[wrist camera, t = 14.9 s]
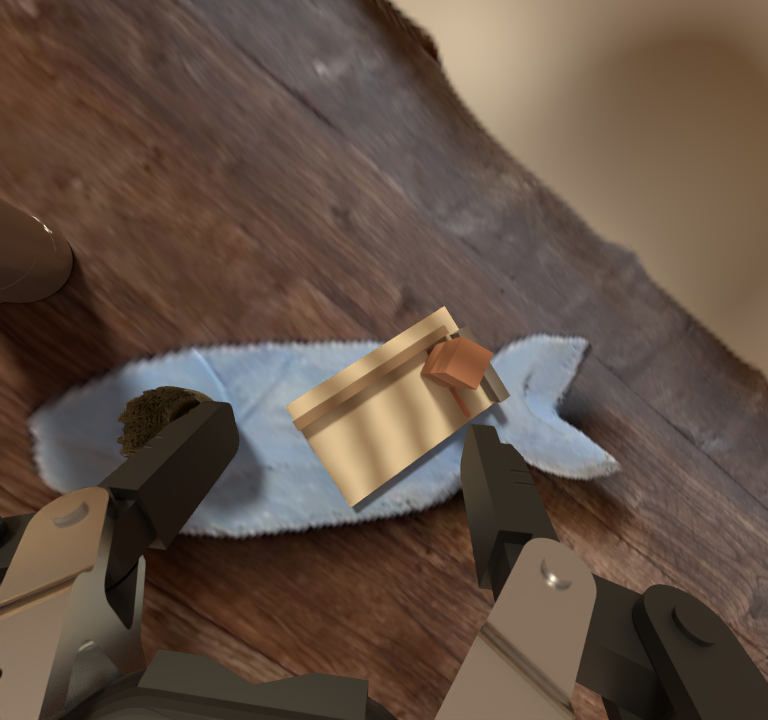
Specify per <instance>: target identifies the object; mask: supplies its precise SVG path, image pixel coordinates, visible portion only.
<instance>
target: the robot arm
mask: <svg viewBox="0 0 768 720" xmlns="http://www.w3.org/2000/svg"><path fill="white" fill-rule="evenodd" d="M72 265H73V257H72V252H71V248H70V246H69V244H68V243H67V241H66V239H65V238H64V237H63V236H62V235H61V233H59V232H58V231H57V230H56V229H54V228H53V227H51V226H49V225H48V224H46V223H44V222H42V221H41V220H39V219H38V218H36V217H34V216H32V215H29V214H28V213H26V212H24V211H22V210H20V209H18V208H17V207H15V206H13V205H11V204H10V203H8V202H6V201H4V200H2V199H1V198H0V303H3V302H15V303H28V302H34V301H38V300H42V299H44V298H46V297H49V296H51V295H52V294H54V293H55V292H56V291H58V290H59V289H60V288H61V287H62V286H63V285H64V284H65V283H66V281H67V279H68V277H69V276H70V273H71V269H72ZM238 446H239V435H238V431H237V426H236V422H235V418H234V414H233V409H232V406H231V405H230V404H229V403H227V402H216V401H203V402H201V403H200V404H199V405H198V406H197V407H196V408H195V409H194V410H192V411H191V412H190V413H189V414H186V415H184V416H182V417H180V418H178V419H176V420H175V421H173V422H171V423H169V424H168V425H167V426H166V427H164V428H163V429H162V430H161V431H160V432H159V433H158V434H156V437H155V438H152V439H151V440H150V441H148V442H147V443H146V444H145V446H144V448H140V449H139V450H138V451H137V452H136V453H135V454H134V455H132V456H131V457H130V458H129V459H128V460H127V461H126V462H124V463H123V464H122V465H121V466H120V467H119V468H118V469H116V470H115V471H114V472H113V473H112V474H111V475H109V476H108V477H107V478H106V479H105V480H104V481H103V482H101V483H100V484H99V485H98V486H97V487H86V488H82V489H78V490H75V491H72V492H69V493H67V494H65V495H63V496H61V497H59V498H57V499H55V500H54V501H52V502H50V503H49V504H47V505H46V506H45V507H43V508H42V509H41V510H40V511H39V512H37V513H30V514H24V515H18V516H12V517H6V518H1V516H0V720H397V719H396V718H395V717H394V716H393V715H392V714H391V713H390V712H389V711H388V710H387V709H385V708H384V707H383V706H382V705H381V704H379V703H378V702H376V701H374V700H373V699H371V698H369V697H368V680H361V679H355V678H348V677H342V676H335V675H328V674H322V673H310V674H305V675H301V676H296V677H291V678H286V679H281V680H277V681H272V682H267V683H262V684H252V683H250V682H248V681H246V680H245V679H243V678H242V677H240V676H238V675H237V674H235V673H234V672H232V671H231V670H229V669H227V668H226V667H224V666H223V665H221V664H219V663H218V662H216V661H215V660H213V659H212V658H210V657H208V656H202V655H196V654H189V653H182V652H176V651H169V650H162V649H158V651H157V652H156V654H155V656H154V657H153V659H152V661H151V663H150V664H149V666H148V668H146V664H145V657H144V652H143V649H142V644H141V619H142V605H143V591H144V578H145V559H144V557H143V553H144V552H145V551H146V549H147V548H155V549H163V550H166V549H167V548H168V546H169V545H170V544H171V542H172V541H173V540H174V538H175V537H176V536H177V534H178V533H179V531H180V530H181V529H182V527H183V526H184V525H185V523H186V522H187V520H188V519H189V518H190V516H191V515H192V514H193V512H194V511H195V510H196V508H197V507H198V505H199V504H200V503H201V501H202V500H203V499H204V497H205V496H206V494H207V493H208V492H209V490H210V489H211V488H212V486H213V485H214V484H215V482H216V481H217V479H218V478H219V477H220V475H221V474H222V473H223V471H224V470H225V468H226V467H227V466H228V464H229V463H230V462H231V460H232V459H233V458H234V456H235V454H236V452H237V450H238ZM460 470H461V482H462V488H463V494H464V500H465V506H466V512H467V518H468V524H469V530H470V536H471V542H472V548H473V554H474V560H475V566H476V572H477V578H478V584H479V588H482V589H490V590H492V591H493V596H494V601H495V605H494V607H493V609H492V611H491V613H490V615H489V617H488V619H487V621H486V623H485V624H484V626H482V628H481V630H480V631H479V633H478V635H477V637H476V639H475V641H474V643H473V645H472V647H471V649H470V651H469V653H468V655H467V657H466V658H465V660H464V662H463V664H462V666H461V668H460V670H459V672H458V674H457V676H456V678H455V680H454V682H453V684H452V686H451V688H450V690H449V692H448V694H447V696H446V698H445V700H444V702H443V704H442V706H441V708H440V710H439V712H438V713H437V715H436V717H435V719H434V720H574V709H573V708H572V707H571V699H572V693H573V689H574V685H575V682H577V683H579V684H581V685H583V686H585V687H586V688H588V689H590V690H592V691H594V692H595V693H597V694H599V695H601V697H602V700H603V703H604V706H605V709H606V712H607V715H608V718H609V720H768V682H767V681H766V680H765V678H764V677H763V675H762V674H761V672H760V671H759V670H758V668H757V667H756V665H755V664H754V662H753V661H752V660H751V658H750V657H749V655H748V654H747V652H746V651H745V650H744V648H743V647H742V645H741V644H740V642H739V641H738V640H737V638H736V637H735V635H734V634H733V633H732V631H731V630H730V629H729V627H728V626H727V625H726V624H725V623H724V622H723V621H722V620H721V619H720V618H719V617H718V616H717V615H716V614H715V613H714V612H713V611H712V610H711V609H710V608H708V607H707V606H706V605H705V604H703V603H702V602H701V601H699V600H698V599H696V598H695V597H693V596H692V595H690V594H688V593H686V592H684V591H682V590H680V589H678V588H675V587H672V586H668V585H662V584H658V585H653V586H650V587H649V588H648V589H647V590H646V591H645V592H644V594H643V595H641V594H639V593H637V592H634V591H632V590H630V589H627V588H625V587H623V586H620V585H618V584H615V583H613V582H611V581H608V580H606V579H604V578H601V577H599V576H597V575H595V574H593V573H592V572H590V570H589V568H588V567H587V565H586V564H585V563H584V562H583V560H582V559H581V558H580V557H579V556H578V555H577V554H576V553H575V552H573V551H572V550H571V549H569V548H568V547H567V546H565V545H563V544H561V543H560V541H559V539H558V537H557V535H556V533H555V530H554V528H553V526H552V523H551V521H550V519H549V516H548V514H547V512H546V509H545V507H544V505H543V503H542V500H541V498H540V496H539V493H538V491H537V489H536V487H535V486H534V485H535V484H534V482H533V479H532V477H531V475H529V470H528V468H527V465H526V463H525V461H524V458H523V457H522V456H521V454H520V453H519V452H518V451H517V450H516V449H515V448H514V447H513V446H512V445H511V444H503V443H500V440H499V437H498V434H497V432H496V429H495V427H494V426H486V425H475V424H470V425H469V426H468V430H467V434H466V439H465V444H464V449H463V453H462V458H461V469H460Z"/></svg>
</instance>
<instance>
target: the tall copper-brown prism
mask: <svg viewBox="0 0 768 720" xmlns="http://www.w3.org/2000/svg"><path fill="white" fill-rule="evenodd" d="M492 355H493V353H492V352H490V351H488V350H487V349H485V348H483V347H481V346H479V345H478V344H476V343H474V342H472V341H471V340H469V339H467V338H465V337H464V336H461V337H458V338H455V339H452V340H449V341H446V342H443V343H440V344H437V345H434V346H433V348H432V350H431V352H430V354H429V356H428V358H427V360H426V362H425V364H424V366H423V368H422V370H421V372H420V375H422V376H424V377H426V378H428V379H430V380H432V381H433V382H435V383H437V384H439V385H441V386H443V387H446V388H461V389H475V390H477V388H478V386H479V384H480V382H481V379H482V377H483V375H484V373H485V371H486V369H487V366H488V364H489V362H490V360H491V358H492Z"/></svg>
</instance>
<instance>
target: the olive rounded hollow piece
mask: <svg viewBox="0 0 768 720" xmlns="http://www.w3.org/2000/svg"><path fill="white" fill-rule="evenodd" d="M203 401H213V400H212V399H211V398H209V397H208V396H207V395H205V394H203V393H200V392H198V391H194V390H190V389H184V388H179V387H174V386H169V387H168V386H165V387H158V388H156V390H147V391H143V395H141V396H139V397H135V398H134V399H132V400H130V401H129V402H127V403H126V405H125V410H124V413H123V414H121V415H120V416H119V418H118V421H119V422H123V423H125V425H124V427H123V429H122V430H123V432H124V434H123V435H122V437H120V438H118V439H117V442H118V443H120V444H123V446H122V448H121V450H120V453H121V454H122V455H123V456H125V457H128V458H130V457H131V456H132V455H134V454H135V453H136V452H137V451H138V450H139V449H140V448H144V446H145V444H146V443H147V442H148V441H150V440H151V439H152V438H155V437H156V434H158V433H159V432H160V431H161V430H162V429H163V428H164V427H166V426H167V425H168V424H169V423H171V422H173V421H175V420H176V419H178V418H180V417H182V416H184V415H186V414H189V413H190V412H191V411H192V410H194V409H195V408H196V407H197V406H198V405H199V404H200V403H201V402H203Z"/></svg>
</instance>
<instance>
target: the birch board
mask: <svg viewBox="0 0 768 720" xmlns="http://www.w3.org/2000/svg"><path fill="white" fill-rule="evenodd" d="M461 336H464V337H465V338H467V339H469V340H471V341H472V342H474V343H476V344H478V342H477V341H476V339H475V337H474V336H473V334H472V333H471V331H470V329H469V328H468V326H466V327H464V328H461V329H458V327H457V326H456V324H455V322H454V321H453V319H452V318H451V316H450V314H449V313H448V311H447V309H446V308H445V306H444V307H442V308H441V309H439V310H438V311H436V312H435V313H433V314H431V315H430V316H428V317H427V318H425V319H423V320H422V321H420V322H419V323H417V324H415V325H414V326H412V327H411V328H409V329H408V330H406V331H404V332H403V333H401V334H400V335H398V336H396V337H395V338H393V339H392V340H390V341H388V342H387V343H385V344H384V345H382V346H380V347H379V348H377V349H376V350H374V351H373V352H371V353H369V354H368V355H366V356H365V357H363V358H361V359H360V360H358V361H357V362H355V363H353V364H352V365H350V366H349V367H347V368H345V369H344V370H342V371H341V372H339V373H338V374H336V375H334V376H333V377H331V378H330V379H328V380H326V381H325V382H323V383H322V384H320V385H318V386H317V387H315V388H314V389H312V390H311V391H309V392H307V393H306V394H304V395H303V396H301V397H299V398H298V399H296V400H295V401H293V402H291V403H290V404H288V405H287V406H285V407H286V408H287V410H288V411H289V413H290V414H291V416H292V418H293V419H294V421H293V423H294V425H295V427H296V428H297V430H298V431H300V430H301V431H302V433H303V434H304V436H305V438H306V439H307V441H308V442H309V444H310V445H311V447H312V448H313V450H314V451H315V453H316V454H317V456H318V458H319V459H320V461H321V462H322V464H323V465H324V467H325V468H326V470H327V471H328V473H329V474H330V476H331V478H332V479H333V481H334V482H335V484H336V485H337V487H338V488H339V490H340V491H341V493H342V494H343V496H344V498H345V499H346V501H347V502H348V504H349V505H350V507H352V506H354V505H355V504H356V503H358V502H359V501H361V500H362V499H363V498H365V497H366V496H367V495H369V494H370V493H372V492H373V491H374V490H376V489H377V488H378V487H380V486H381V485H383V484H384V483H385V482H387V481H388V480H389V479H391V478H392V477H393V476H395V475H396V474H398V473H399V472H400V471H402V470H403V469H404V468H406V467H407V466H409V465H410V464H411V463H413V462H414V461H415V460H417V459H418V458H420V457H421V456H422V455H424V454H425V453H426V452H428V451H429V450H430V449H432V448H433V447H435V446H436V445H437V444H439V443H440V442H441V441H443V440H444V439H446V438H447V437H448V436H450V435H451V434H452V433H454V432H455V431H457V430H458V429H459V428H461V427H462V426H463V425H465V424H466V423H467V422H469V421H470V420H472V419H473V418H474V417H476V416H477V415H478V414H480V413H481V412H483V411H484V410H485V409H487V408H488V407H489V406H491V405H492V404H494V403H495V402H500V403H501V402H503V401H504V400H505V399H507V398H508V397H509V396H510V394H509V393H508V391H507V390H506V388H505V386H504V385H503V383H502V381H501V380H500V378H499V377H498V375H497V373H496V372H495V370H494V368H493V367H492V365H491V364H490V362H489V364H488V366H487V369H486V371H485V373H484V375H483V377H482V379H481V382H480V384H479V386H478V388H477V390H475V389H461V388H446V387H443V386H441V385H439V384H437V383H435V382H433V381H432V380H430V379H428V378H426V377H424V376H422V375H420V372H421V370H422V368H423V366H424V364H425V362H426V360H427V358H428V356H429V354H430V352H431V350H432V348H433V346H434V345H437V344H440V343H443V342H446V341H449V340H452V339H455V338H458V337H461ZM478 345H479V344H478Z"/></svg>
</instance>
